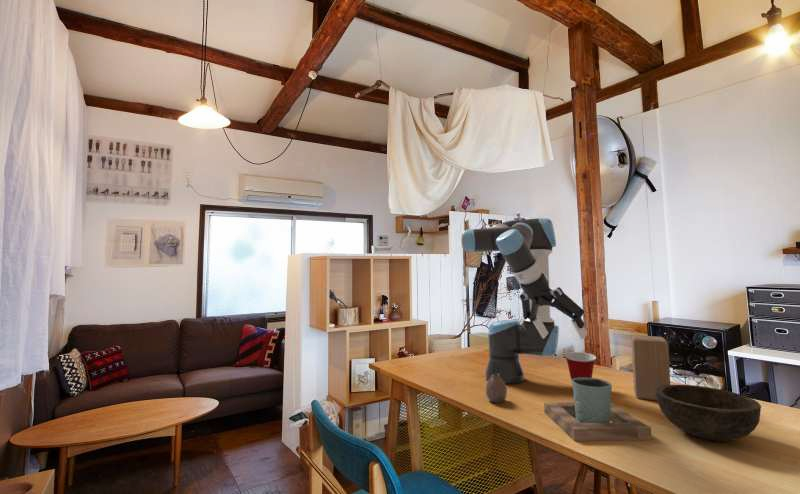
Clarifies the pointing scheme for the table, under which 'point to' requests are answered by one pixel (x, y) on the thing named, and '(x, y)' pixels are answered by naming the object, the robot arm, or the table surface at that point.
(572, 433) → the well board
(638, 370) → the wooden block
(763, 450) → the table surface
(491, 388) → the vase
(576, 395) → the grey-green cup
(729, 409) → the bowl
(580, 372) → the plastic cup
